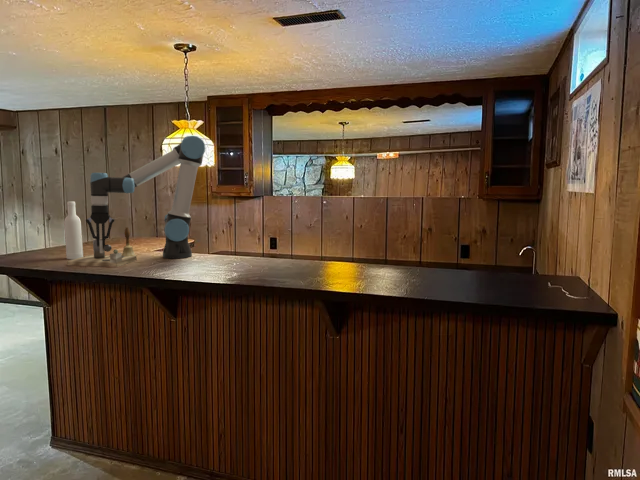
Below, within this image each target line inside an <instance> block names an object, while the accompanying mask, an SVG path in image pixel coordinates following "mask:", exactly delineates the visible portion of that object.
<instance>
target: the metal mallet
mask: <svg viewBox="0 0 640 480" xmlns="http://www.w3.org/2000/svg"><path fill="white" fill-rule="evenodd" d="M92 246H93V250H92V251H93V255H94V258H105V256H106V255H105V252H106V253H108V252H111V251H112V245H111V244H107V243H106V244H105V246H103V253H100V246H97V240H96V239H93V240H92Z"/></svg>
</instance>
